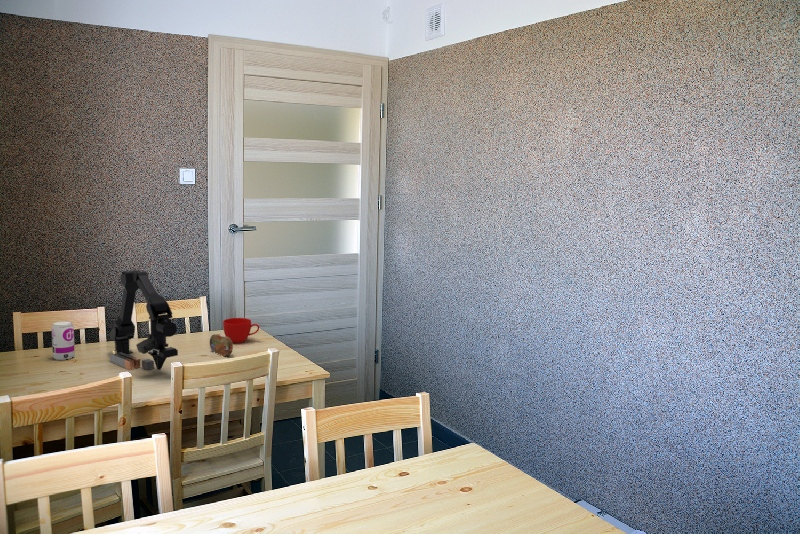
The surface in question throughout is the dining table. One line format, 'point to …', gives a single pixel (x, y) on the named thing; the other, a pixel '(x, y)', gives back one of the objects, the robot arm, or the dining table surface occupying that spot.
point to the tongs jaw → (136, 360)
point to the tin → (221, 344)
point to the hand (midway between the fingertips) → (159, 369)
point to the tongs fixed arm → (121, 360)
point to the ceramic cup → (238, 329)
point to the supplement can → (63, 340)
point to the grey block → (147, 364)
